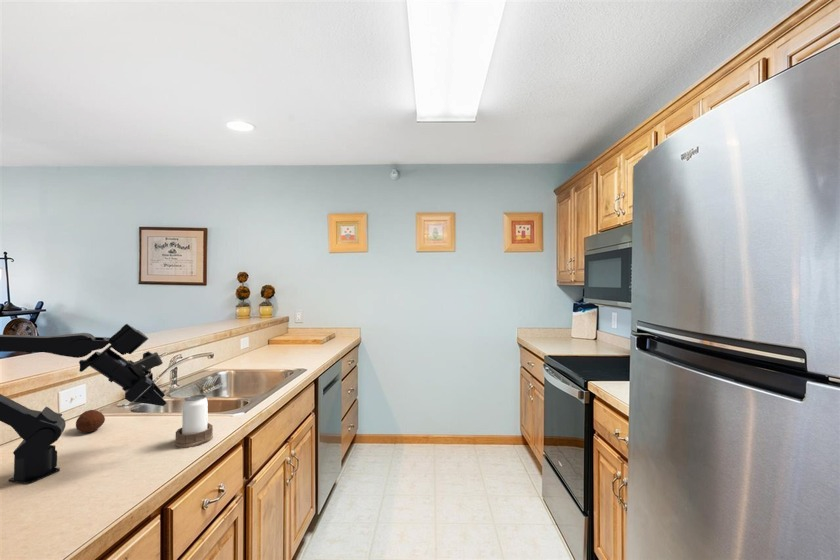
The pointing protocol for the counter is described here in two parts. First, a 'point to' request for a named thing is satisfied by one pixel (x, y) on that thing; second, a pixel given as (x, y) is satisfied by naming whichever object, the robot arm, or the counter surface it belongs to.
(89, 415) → the potato
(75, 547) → the counter surface
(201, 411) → the can
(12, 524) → the counter surface
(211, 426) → the holder
